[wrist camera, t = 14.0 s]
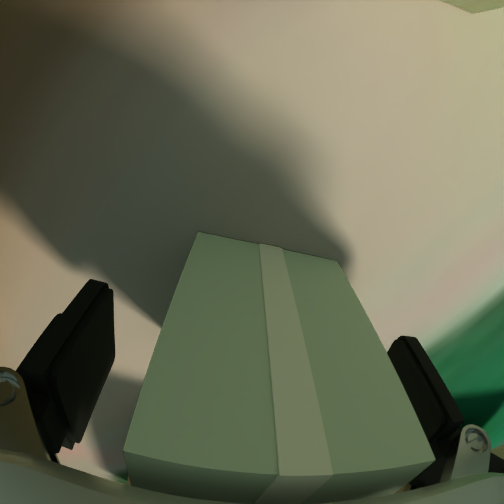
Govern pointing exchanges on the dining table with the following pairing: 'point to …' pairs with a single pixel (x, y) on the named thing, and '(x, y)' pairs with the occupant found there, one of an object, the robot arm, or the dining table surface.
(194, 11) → the dining table surface
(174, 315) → the gift block
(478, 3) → the toy refrigerator
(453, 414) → the robot arm
